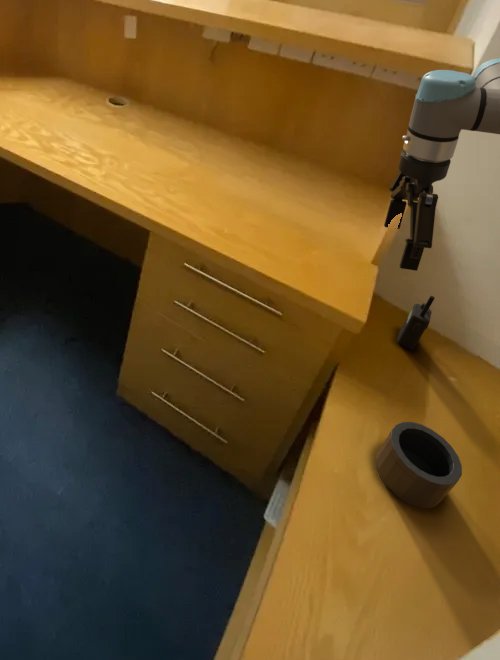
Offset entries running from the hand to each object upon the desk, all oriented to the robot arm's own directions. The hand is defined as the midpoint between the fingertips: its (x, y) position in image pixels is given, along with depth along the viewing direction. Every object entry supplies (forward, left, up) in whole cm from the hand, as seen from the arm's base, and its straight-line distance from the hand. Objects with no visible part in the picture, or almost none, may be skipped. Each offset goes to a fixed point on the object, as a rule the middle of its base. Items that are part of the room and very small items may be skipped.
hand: (399, 246), depth 102 cm
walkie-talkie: (-9, +1, -25) cm, 27 cm away
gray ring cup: (-1, +32, -25) cm, 41 cm away
